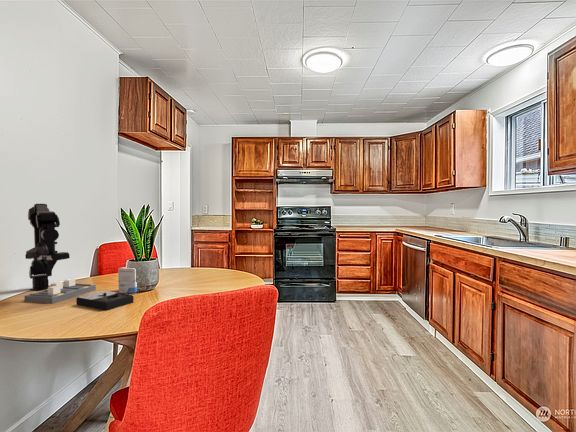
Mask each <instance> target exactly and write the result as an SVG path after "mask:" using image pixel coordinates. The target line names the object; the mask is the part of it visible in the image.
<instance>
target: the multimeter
mask: <svg viewBox="0 0 576 432" xmlns="http://www.w3.org/2000/svg"><path fill="white" fill-rule="evenodd" d="M134 301H135V300H134V295H132V294H130V293H119V292H115V291H109V290H108V291H107V290H101V291H97V292H93V293H88V294H83V295H79V296H76V301H75V303H76V306H80V307H86V308H90V309H94V310H95V309H97V310H101V311H106V312H107V311H111V310H114V309H117V308H121V307H123V306H126V305H130V304H133V303H134Z"/></svg>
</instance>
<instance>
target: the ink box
mask: <svg viewBox="0 0 576 432" xmlns="http://www.w3.org/2000/svg"><path fill="white" fill-rule="evenodd" d="M117 273H118V275H117V276H118V279H117V280H118V293H122V294H136V293H138V292H137V282H136V269H135V268H126V267H125V266H123V267H119V268H118V271H117Z"/></svg>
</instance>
